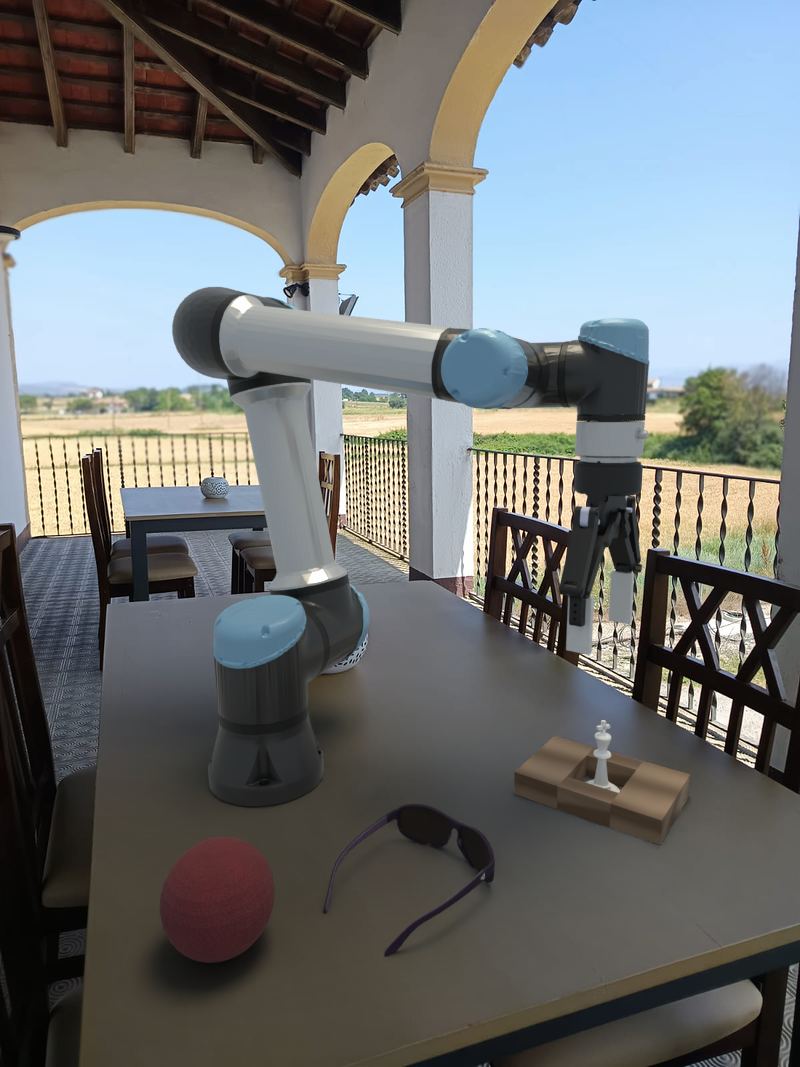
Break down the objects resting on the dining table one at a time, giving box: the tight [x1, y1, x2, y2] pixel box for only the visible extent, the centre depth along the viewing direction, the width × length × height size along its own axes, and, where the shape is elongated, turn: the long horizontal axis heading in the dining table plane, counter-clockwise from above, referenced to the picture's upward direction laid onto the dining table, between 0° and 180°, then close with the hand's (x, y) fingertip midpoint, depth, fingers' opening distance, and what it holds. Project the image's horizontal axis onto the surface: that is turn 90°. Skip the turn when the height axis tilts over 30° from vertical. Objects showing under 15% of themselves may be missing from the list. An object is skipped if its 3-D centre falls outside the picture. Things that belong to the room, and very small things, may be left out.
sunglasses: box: [323, 803, 496, 957], centre depth 69 cm, size 14×16×5 cm
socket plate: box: [513, 735, 691, 846], centre depth 86 cm, size 12×18×3 cm, turn 53°
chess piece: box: [585, 719, 621, 793], centre depth 85 cm, size 5×5×10 cm
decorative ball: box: [159, 835, 276, 964], centre depth 61 cm, size 10×10×10 cm
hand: (600, 636), depth 83 cm, fingers open, 13 cm apart
